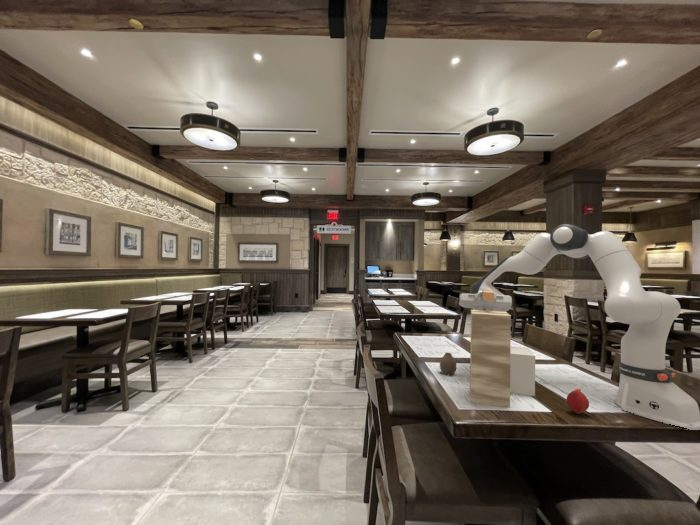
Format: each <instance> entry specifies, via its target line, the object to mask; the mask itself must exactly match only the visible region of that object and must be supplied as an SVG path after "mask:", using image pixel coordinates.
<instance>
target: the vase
mask: <svg viewBox="0 0 700 525" xmlns="http://www.w3.org/2000/svg"><path fill="white" fill-rule="evenodd" d="M439 368H440V371H441V373H442V374H443V373H444V374H443V375H446V374H452V375H454V374H455V373H456V370H457V361H456V359H455V358H454V356H453V355H452V353H451V352H445V353H444V355H443V356H442V357H441V359H440V361H439Z"/></svg>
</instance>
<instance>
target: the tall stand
mask: <svg viewBox="0 0 700 525" xmlns="http://www.w3.org/2000/svg"><path fill="white" fill-rule="evenodd" d="M511 317H512V316H511V314H510V313H508V311H507V312H502V311H484V310H473V309H470V347H469V348H470V350H469V351H470V352H469V353H470V354H469V355H470V356H469V357H470V360H469V363H470V364H469V368H470V369H469V372H470V373H469V394H470V402H472V403H477V404H483V405H484V404H485V405H490V406H497V407H498V406H499V407H503V408H511V393H510V346H511V342H512V341H511V336H512V335H511V333H512V332H511V331H512V329H511V328H512V327H511V326H512V325H511V321H512V320H511V319H512V318H511Z"/></svg>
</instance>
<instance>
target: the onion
mask: <svg viewBox="0 0 700 525" xmlns="http://www.w3.org/2000/svg"><path fill="white" fill-rule="evenodd" d="M566 404H567V406H568V408H569V409H570V410H572V411H573V413H575V414H577V415H580V414H582V413H584V412H586V411H587V410H588V409H589V408H590V401H589V399H588V397H587V396H586V395H585V394H584V393H583V392H582V391H581V389H580V387H577V388H575V390H572V391H570V392H569V393H568V394H567V396H566Z"/></svg>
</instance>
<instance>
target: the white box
mask: <svg viewBox="0 0 700 525" xmlns="http://www.w3.org/2000/svg"><path fill="white" fill-rule="evenodd" d="M510 394H513V395H514V394H515V395H521V396H529V397H536V355H535V354H534V353H533V351H531V350H530V349H529V347H521V346H520V347H519V346H511V345H510Z"/></svg>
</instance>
